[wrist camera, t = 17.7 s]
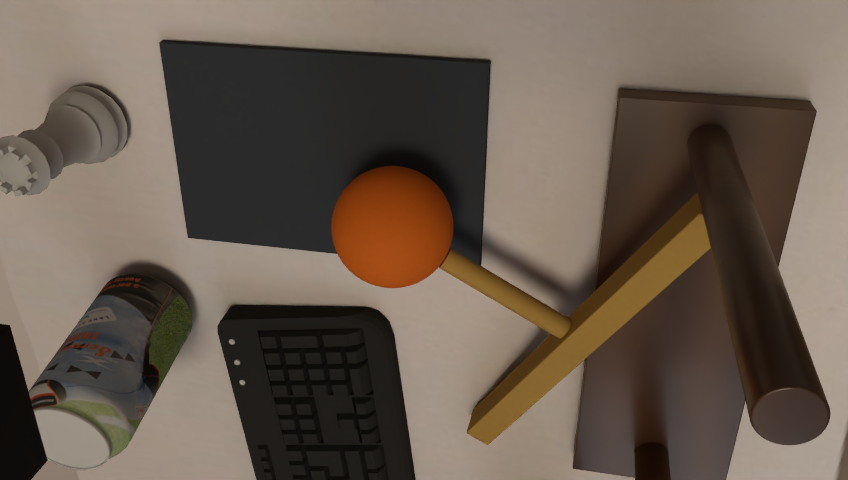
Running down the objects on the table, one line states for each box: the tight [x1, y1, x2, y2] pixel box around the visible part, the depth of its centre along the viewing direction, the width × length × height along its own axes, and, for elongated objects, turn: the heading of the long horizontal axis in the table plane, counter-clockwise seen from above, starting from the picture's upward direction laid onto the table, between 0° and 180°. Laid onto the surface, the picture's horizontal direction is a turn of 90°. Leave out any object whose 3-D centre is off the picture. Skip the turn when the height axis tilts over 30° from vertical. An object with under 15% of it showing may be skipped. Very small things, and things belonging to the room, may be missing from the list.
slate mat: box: [160, 40, 491, 266], centre depth 45 cm, size 18×12×1 cm, turn 90°
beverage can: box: [29, 274, 192, 470], centre depth 48 cm, size 6×7×12 cm
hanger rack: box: [573, 88, 830, 480], centre depth 36 cm, size 9×24×22 cm, turn 0°
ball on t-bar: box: [331, 166, 711, 445], centre depth 43 cm, size 6×22×16 cm
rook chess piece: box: [0, 86, 127, 196], centre depth 44 cm, size 4×4×8 cm
